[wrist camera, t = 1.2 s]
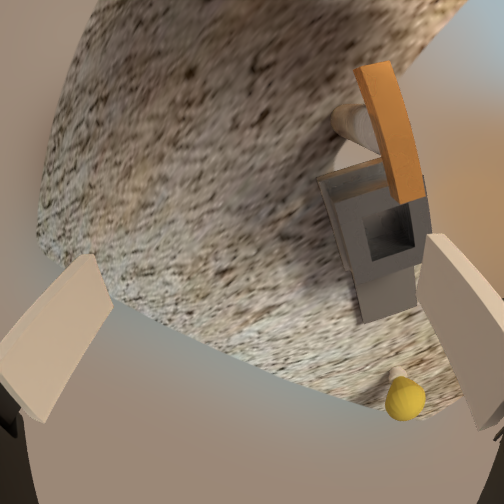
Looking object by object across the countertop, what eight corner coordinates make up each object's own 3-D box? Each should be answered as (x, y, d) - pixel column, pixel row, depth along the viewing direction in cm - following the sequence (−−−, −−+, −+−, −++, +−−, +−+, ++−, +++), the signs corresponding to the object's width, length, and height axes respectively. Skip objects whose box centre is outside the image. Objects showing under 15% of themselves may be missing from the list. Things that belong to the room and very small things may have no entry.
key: (316, 85, 26) (347, 69, 14) (348, 76, 26) (400, 58, 13) (344, 165, 30) (389, 208, 18) (374, 156, 29) (435, 193, 17)
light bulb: (369, 377, 45) (380, 425, 36) (397, 352, 42) (414, 401, 33) (393, 386, 46) (406, 430, 37) (420, 363, 43) (438, 408, 34)
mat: (348, 259, 35) (349, 263, 34) (407, 239, 33) (410, 243, 32) (362, 319, 39) (363, 324, 38) (414, 301, 37) (417, 305, 36)
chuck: (315, 177, 31) (325, 194, 25) (399, 151, 29) (425, 163, 23) (342, 263, 35) (353, 294, 30) (416, 238, 33) (438, 264, 27)
